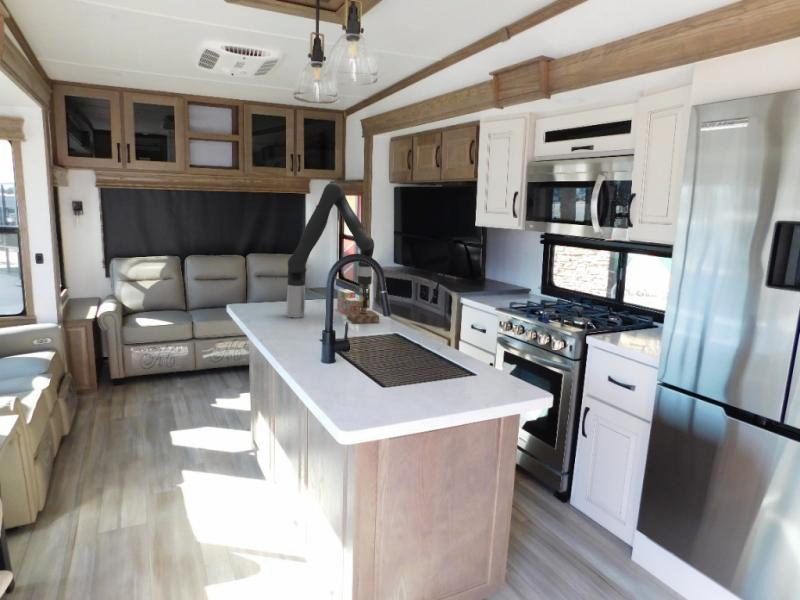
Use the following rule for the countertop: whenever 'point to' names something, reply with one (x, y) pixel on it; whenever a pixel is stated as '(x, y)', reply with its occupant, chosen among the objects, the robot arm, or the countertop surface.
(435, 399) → the countertop surface
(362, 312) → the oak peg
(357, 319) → the walnut board
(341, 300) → the stack of blocks
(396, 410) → the countertop surface
